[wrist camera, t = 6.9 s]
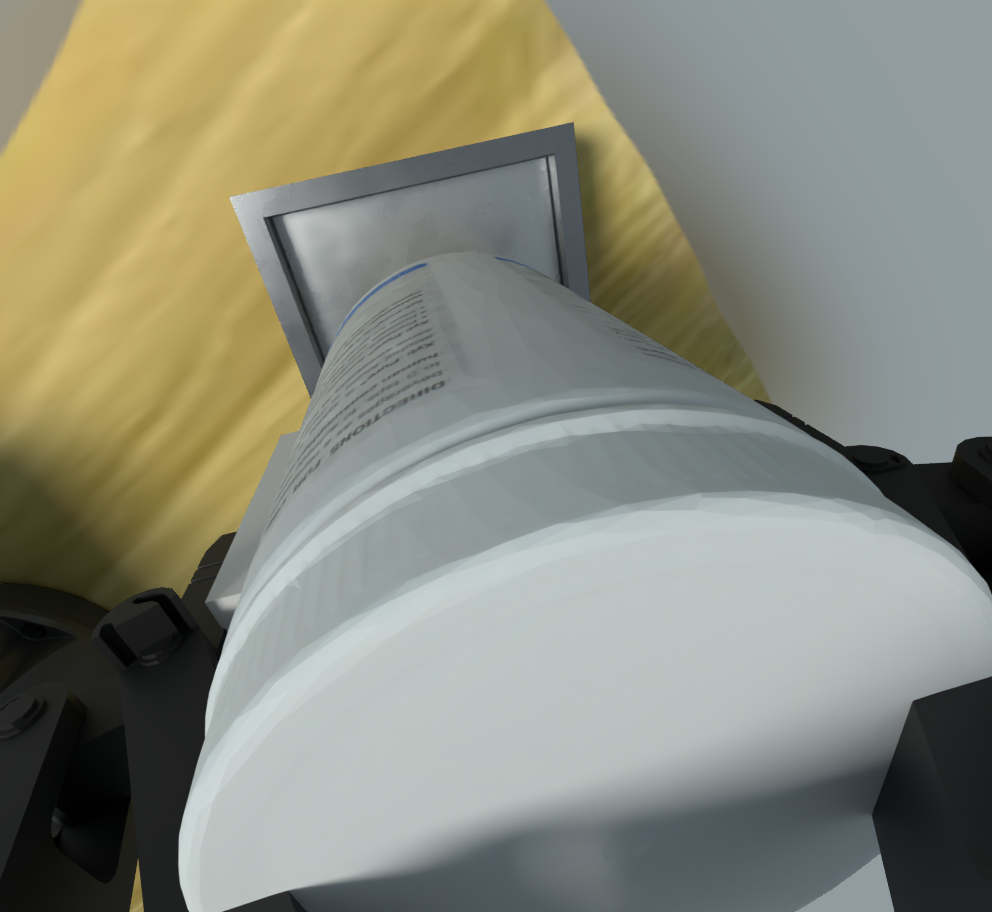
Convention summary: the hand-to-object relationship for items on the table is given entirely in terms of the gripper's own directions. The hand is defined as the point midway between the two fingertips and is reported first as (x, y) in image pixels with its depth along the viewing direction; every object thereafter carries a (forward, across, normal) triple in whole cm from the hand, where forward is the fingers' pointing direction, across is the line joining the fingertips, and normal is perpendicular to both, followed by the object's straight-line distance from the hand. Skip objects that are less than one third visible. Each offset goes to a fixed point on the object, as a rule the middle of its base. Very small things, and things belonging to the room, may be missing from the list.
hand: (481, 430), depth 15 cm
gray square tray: (+16, 0, 0) cm, 16 cm away
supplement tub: (+4, 0, 0) cm, 4 cm away
